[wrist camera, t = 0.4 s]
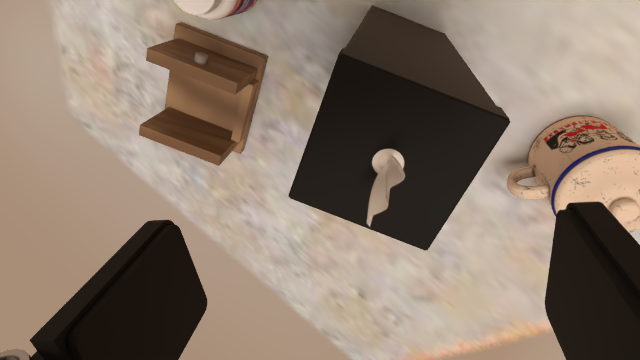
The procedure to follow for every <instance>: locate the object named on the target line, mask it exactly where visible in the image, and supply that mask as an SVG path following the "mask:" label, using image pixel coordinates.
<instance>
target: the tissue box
mask: <svg viewBox="0 0 640 360" xmlns="http://www.w3.org/2000/svg"><path fill="white" fill-rule="evenodd" d="M509 123H510V121H509V118H508V116H507V115H506V114H505V112H504V111H503V110H502V108H500V107H498V106H496V105H495V103H494V102H493V101H492V99H491V98H490V96H489V95H488V94H487V92H486V91H485V89H484V88H483V87H482V85H481V84H480V82H479V81H478V80H477V78H476V77H475V75H474V74H473V73H472V71H471V70H470V68H469V67H468V66H467V64H466V63H465V61H464V60H463V59H462V57H461V56H460V54H459V53H458V52H457V50H456V49H455V47H454V46H453V45H452V43H451V42H450V40H449V39H448V38H447V36H446V35H445V34H443V33H441V32H438V31H436V30H433V29H431V28H428V27H426V26H423V25H421V24H418V23H416V22H413V21H411V20H408V19H406V18H403V17H401V16H398V15H396V14H393V13H391V12H388V11H385V10H383V9H380V8H378V7H375V6H373V5H372V7H371V8H370V10H369V12H368V13H367V15H366V16H365V18H364V19H363V21H362V23H361V24H360V26H359V27H358V29H357V31H356V32H355V34H354V35H353V37H352V39H351V40H350V42H349V43H348V45H347V46H346V47H345V49H342V50H341V52H340V53H339V55H338V58H337V61H336V64H335V66H334V69H333V72H332V75H331V78H330V80H329V83H328V86H327V89H326V92H325V94H324V97H323V100H322V103H321V106H320V108H319V111H318V114H317V117H316V120H315V123H314V125H313V128H312V131H311V134H310V137H309V139H308V142H307V145H306V148H305V151H304V153H303V156H302V159H301V162H300V165H299V167H298V170H297V173H296V176H295V179H294V181H293V184H292V187H291V190H290V193H289V197H290V198H291V199H294V200H296V201H299V202H301V203H304V204H307V205H309V206H312V207H314V208H317V209H320V210H322V211H325V212H327V213H330V214H332V215H335V216H338V217H340V218H343V219H345V220H348V221H351V222H353V223H356V224H358V225H361V226H363V227H366V228H369V229H371V230H374V231H376V232H379V233H382V234H384V235H387V236H389V237H392V238H394V239H397V240H400V241H402V242H405V243H407V244H410V245H413V246H415V247H418V248H420V249H423V250H428V248H429V247H430V245H431V244H432V242H433V241H434V239H435V238H436V236H437V234H438V233H439V231H440V230H441V228H442V227H443V225H444V224H445V222H446V221H447V219H448V218H449V216H450V214H451V213H452V211H453V210H454V208H455V207H456V205H457V204H458V202H459V201H460V199H461V197H462V196H463V194H464V193H465V191H466V190H467V188H468V187H469V185H470V184H471V182H472V180H473V179H474V177H475V176H476V174H477V173H478V171H479V170H480V168H481V167H482V165H483V163H484V162H485V160H486V159H487V157H488V156H489V154H490V153H491V151H492V150H493V148H494V146H495V145H496V143H497V142H498V140H499V139H500V137H501V136H502V134H503V133H504V131H505V130H506V128H507V126H508V125H509Z"/></svg>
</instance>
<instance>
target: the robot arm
mask: <svg viewBox="0 0 640 360" xmlns="http://www.w3.org/2000/svg"><path fill="white" fill-rule="evenodd" d="M206 307H207V298H206V295H205V292H204V290H203V287H202V284H201V282H200V279H199V277H198V274H197V272H196V269H195V266H194V264H193V261H192V259H191V256H190V254H189V251H188V248H187V246H186V243H185V241H184V238H183V235H182V233H181V230H180V228H179V227H178V226H177V225H174V223H173V222H172V221H170V220H154V221H148V222H146V223H145V224H144V225H143V226H142V227H141V228H140V229H139V230H138V231H137V232H136V233H135V234H134V235H133V236H132V237H131V238H130V239H129V240H128V241H127V242H126V243H125V244H124V245H123V246H122V247H121V248H120V250H118V251H117V252H116V253H115V254H114V256H112V258H110V260H108V262H106V263H105V265H104V266H103V267H102V268H101V269H100V270H99V271H98V272H97V273H96V274H95V275H94V276H93V277H92V278H91V279H90V280H89V281H88V282H87V283H86V284H85V285H84V286H83V287H82V288H81V289H80V290H79V291H78V292H77V293H76V294H75V295H74V296H73V297H72V298H71V299H70V300H69V301H68V302H67V303H66V304H65V305H64V306H63V307H62V308H61V309H60V310H59V311H58V312H57V313H56V314H55V315H54V316H53V317H52V318H51V319H50V320H49V321H48V322H47V323H46V324H45V325H44V326H43V327H42V328H41V329H40V330H39V331H38V332H37V333H36V334H35V335H34V336H33V337H32V338H31V339H30V341H31V343H32V344H33V345H34V347H35V348H36V350H37V352H36V353H35V354H34V355H33V356H32V357H30V355H29V354H28V353H27V352H26V351H24V350H20V349H14V350H7V351H4V352H1V353H0V360H178V359H179V357H180V355H181V354H182V352H183V350H184V348H185V347H186V345H187V343H188V341H189V340H190V338H191V336H192V334H193V332H194V331H195V329H196V327H197V325H198V323H199V322H200V320H201V318H202V316H203V315H204V313H205V311H206ZM545 308H546V313H547V316H548V319H549V321H550V323H551V326H552V328H553V330H554V333H555V335H556V337H557V340H558V342H559V344H560V346H561V348H562V351H563V353H564V356H565V358H566V360H640V245H639V244H638V242H637V241H636V240H635V239H634V238H633V237H632V236H631V235H630V233H629V232H628V231H627V230H626V229H625V228H624V227H623V226H622V224H621V223H620V222H619V221H618V220H617V219H616V218H615V217H614V215H613V214H612V213H611V212H610V211H609V210H608V209H607V207H606V206H605V205H604V204H603V203H601V202H598V201H597V202H574V203H569V204H568V205H567V206H566V209H564V210H559V211H558V212H557V216H556V224H555V231H554V238H553V246H552V253H551V260H550V267H549V275H548V282H547V289H546V297H545Z"/></svg>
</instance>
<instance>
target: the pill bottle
mask: <svg viewBox="0 0 640 360" xmlns="http://www.w3.org/2000/svg"><path fill="white" fill-rule="evenodd" d="M256 1H257V0H174V2H175V3H176V4H177V6H178V7H179V8H180V9H182V10H183V11H185V12H186V13H189V14H192V15H197V16H198V17H200V18H203V19H207V20H216V19H221V18H224V17H227V16H231V15H235V14H239V13H242V12H245V11H247V10H249V9H250V8H251V7H252V6H253V5H254V4H255V3H256Z"/></svg>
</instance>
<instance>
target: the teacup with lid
mask: <svg viewBox="0 0 640 360" xmlns="http://www.w3.org/2000/svg"><path fill="white" fill-rule="evenodd" d="M528 163H529V166H526V167H522V168H519V169H516V170H514V171H513V172H512V173H511V174H510V175H509V176H508V179H507V187H508V190H509V191H510V193H512V194H513V195H515V196H517V197H520V198H526V199H538V198H546V197H547V198H548V200H549V202H550V203H551V205H552V209H553V212H554V214H555V216H557V212H558V211H559V210H564V209H566V206H567V205H568V204H569V203H574V202H597V201H598V202H601V203H603V204H604V205H605V206H606V207H607V209H608V210H609V211H610V212H611V213H612V214H613V215H614V217H615V218H616V219H617V220H618V221H619V222H620V223H621V224H622V226H623V227H624V228H625V229H626V230H627V231H628V232H629V233H631V232H634V231H636V230H638V229H640V146H639V145H637V144H636V143H635V142H633V141H632V140H630V139H629V138H628V137H626V136H625V135H624V134H622V133H621V132H620V131H618V130H617V129H616V128H614V127H613V126H612V125H610V124H609V123H607V122H606V121H603V120H601V119H598V118H595V117H589V116H578V117H571V118H567V119H564V120H561V121H559V122H557V123H555V124H553V125H551V126H550V127H548V128H547V129H546V130H544V131H543V132H542V133H541V134H540V135H539V136H538V137H537V139H536V140H535V142H534V143H533V145H532V147H531V149H530V153H529V158H528ZM529 177H534V178H535V180H536V182H537V183H538V185H539V186H522V185H519V184H517V182H518V181H519V180H521V179H525V178H529Z"/></svg>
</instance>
